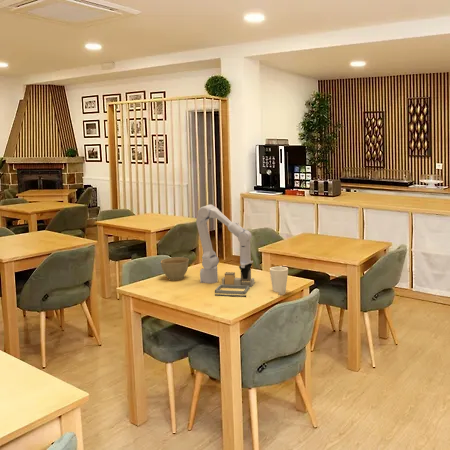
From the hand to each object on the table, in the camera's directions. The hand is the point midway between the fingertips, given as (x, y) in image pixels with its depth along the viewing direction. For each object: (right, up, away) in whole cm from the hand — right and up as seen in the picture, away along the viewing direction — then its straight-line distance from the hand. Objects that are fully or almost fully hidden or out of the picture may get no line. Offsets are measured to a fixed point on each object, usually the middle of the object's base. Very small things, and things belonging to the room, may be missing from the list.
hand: (245, 277), depth 302 cm
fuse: (-9, -3, +3) cm, 10 cm away
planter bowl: (-40, -3, +24) cm, 47 cm away
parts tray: (-7, -7, -10) cm, 15 cm away
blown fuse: (0, -1, 0) cm, 1 cm away
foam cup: (+17, -7, -13) cm, 22 cm away
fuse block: (-4, -5, +2) cm, 7 cm away
